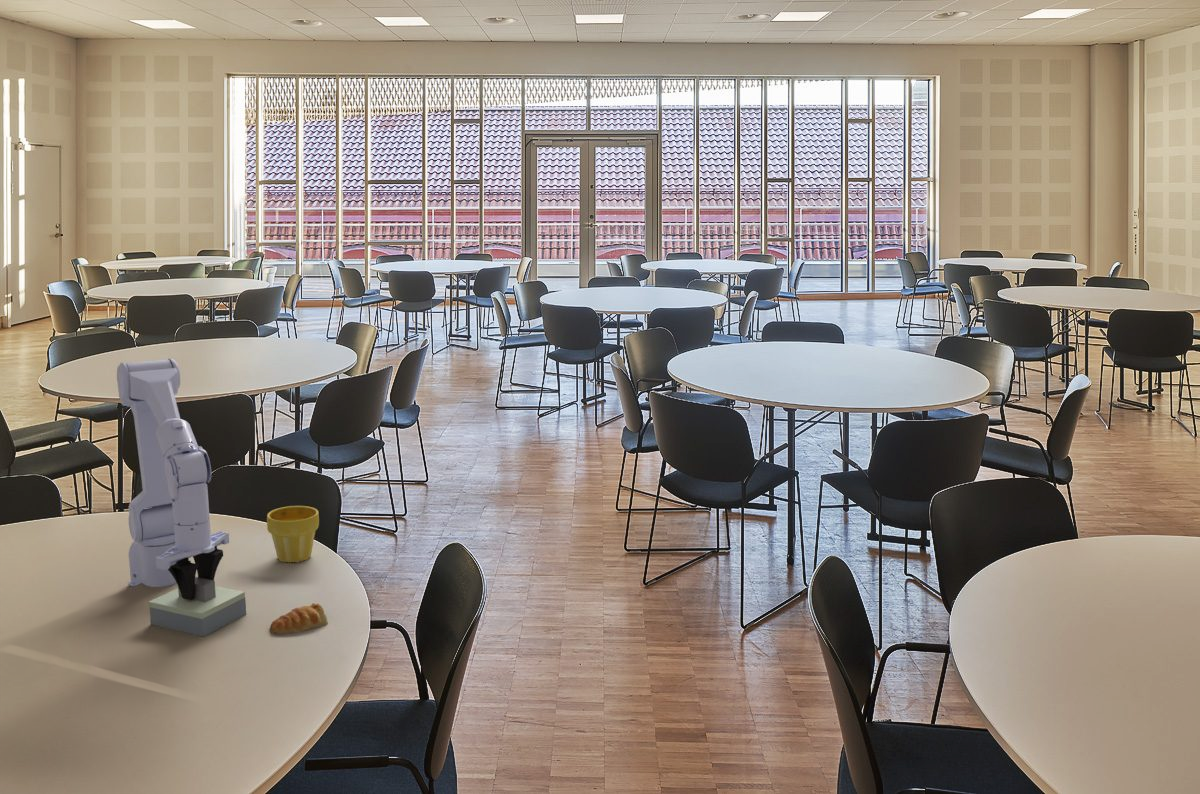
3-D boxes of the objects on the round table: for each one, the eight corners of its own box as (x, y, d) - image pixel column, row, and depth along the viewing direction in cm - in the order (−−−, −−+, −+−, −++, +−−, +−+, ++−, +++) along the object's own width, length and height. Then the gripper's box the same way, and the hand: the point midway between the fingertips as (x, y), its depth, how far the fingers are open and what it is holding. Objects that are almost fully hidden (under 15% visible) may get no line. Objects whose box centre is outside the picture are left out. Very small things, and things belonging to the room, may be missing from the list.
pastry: (279, 644, 162) (277, 623, 161) (263, 631, 167) (262, 610, 166) (331, 629, 168) (330, 608, 167) (315, 616, 173) (313, 596, 172)
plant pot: (329, 558, 200) (327, 513, 199) (283, 570, 193) (280, 524, 191) (306, 545, 208) (304, 502, 206) (260, 556, 201) (257, 512, 199)
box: (151, 628, 166) (149, 606, 166) (195, 606, 175) (193, 586, 175) (204, 641, 162) (202, 618, 161) (246, 618, 171) (245, 597, 170)
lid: (149, 610, 166) (147, 585, 165) (193, 589, 175) (192, 565, 174) (202, 622, 161) (200, 596, 160) (245, 600, 170) (243, 576, 169)
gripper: (176, 536, 157) (182, 614, 159) (240, 511, 170) (245, 583, 173) (144, 530, 159) (150, 607, 162) (209, 506, 173) (215, 577, 175)
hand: (197, 594), depth 168 cm, fingers open, 3 cm apart
